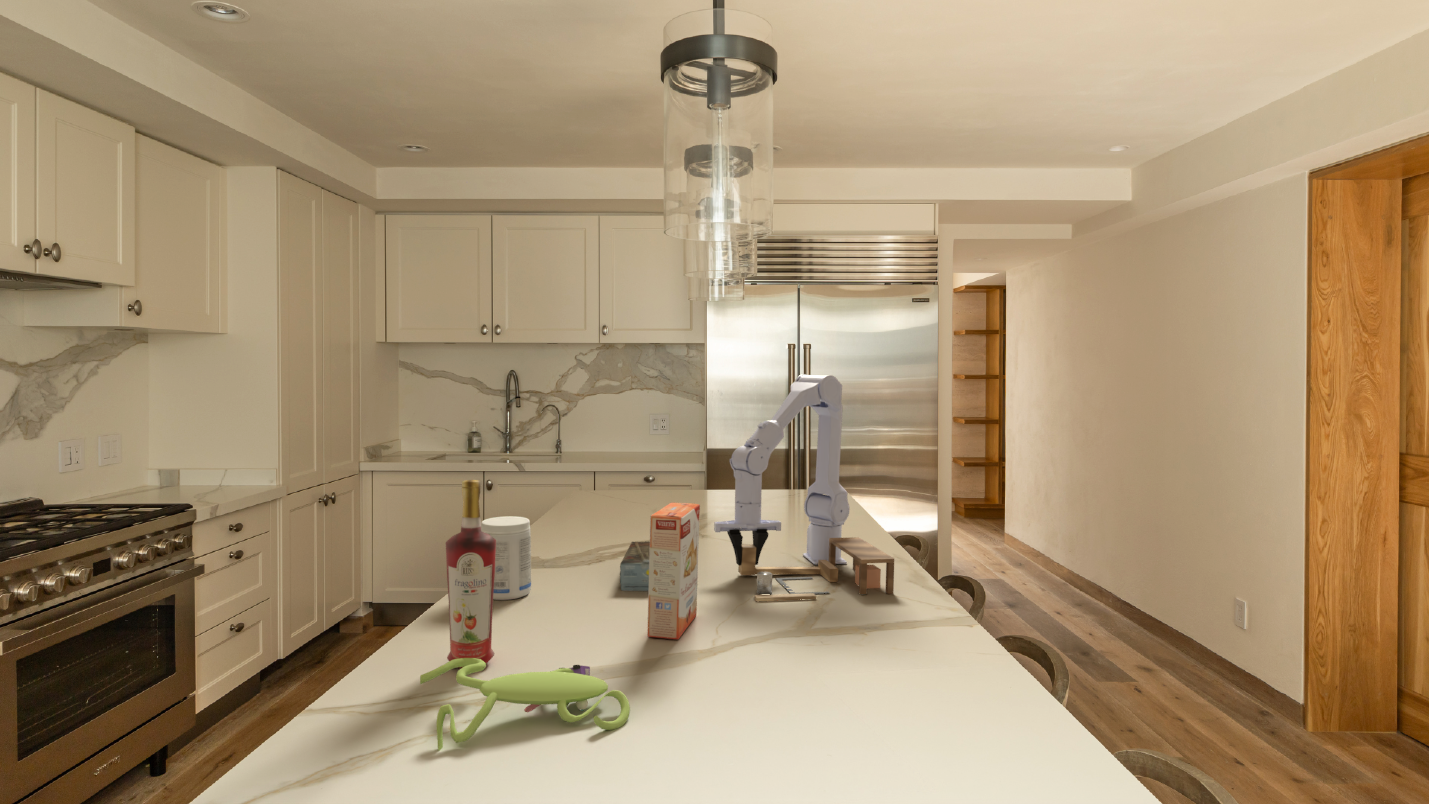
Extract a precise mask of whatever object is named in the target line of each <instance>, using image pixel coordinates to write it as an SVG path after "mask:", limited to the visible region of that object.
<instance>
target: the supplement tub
mask: <svg viewBox="0 0 1429 804" xmlns="http://www.w3.org/2000/svg"><path fill="white" fill-rule="evenodd" d="M530 524H531V522H530V519H529V518H527V517H525V516H515V515H513V516H509V515H507V516H497V517H496V516H495V517H489V518H486V519H484V520H481V531H482V532H484V533H487V534H489V535H491V536H492V537H493V538H494V539H496V555H495V577H494V592H493V601H494V600H495V601H496V600H497V601H500V600H501V601H507V600H509V601H510V600H517V599H520V598H522V597H526V596H527V595H529V593H530V592H531V591H532V549H531V548H532V541H531V540H532V536H531V532H532V531H531V525H530Z"/></svg>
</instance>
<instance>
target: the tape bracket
mask: <svg viewBox="0 0 1429 804" xmlns="http://www.w3.org/2000/svg"><path fill="white" fill-rule="evenodd" d="M797 579H798V580H800V579H801V580H814V579H813V577H812V576H806V577H805V576H803V577H802V576H800V577H797V576H796V577H776V578H775V580H776V581H777V582H778V583H779V584H780V585H781V586H782V585H784V587H783V588H784V589H785V588H791V587H790V586H789V585H788V584H787V583H786V582H785V581H793V580H794V581H796V580H797ZM786 585H788V586H786ZM786 591H787V592H788V591H794V590H793V589H792V588H791V589H787V590H786ZM806 593H814V594H815V595H828V594H827V593H830V592H829V591H810V592H809V591H808V592H805V591H804V592H795V591H794V592H790V593H789V594H806ZM824 593H825V594H824Z"/></svg>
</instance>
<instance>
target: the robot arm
mask: <svg viewBox="0 0 1429 804" xmlns="http://www.w3.org/2000/svg"><path fill="white" fill-rule="evenodd" d="M842 396H843V385H842V383H841V382H840V381H839V380H838V378H837V377H836V376H834V375H833V374H827V375H816V374H815V375H814V374H806V373H802V374H799V375H798V376H797V377H796V379H795V380H794V381H793V383H791V385H790V392H789V393H788V395H787V396H786V398H785V399H784V400H783V402H782V403H781V404H780V406H779V408H778V410H776V412H775V413H774V415H773V416H772V418H771V419H769V420H763V421H761V422H759V423H758V425H757V428H756V429H755V431H754V432H753V434H752V435H751V436H750V437H749V438H747V440H746V441H745V443H744V445H741V446H738V447H737V448H735V450H734V451H733V452H732V454H731V458H729V464H730V467H731V469H732V470H733V478H734V479H735V480H734V483H735V485H734V488H735V489H734V519H733V520H724V521H723V520H722V521H713V523H714V524H713V531H714V532H715V533H721V532H723V533H724V532H727V535H728V537H729V540H730V542H731V544H732V545H731V546H732V547H733V551H734V556H735V562H736V564H737V566H739V565H741V563H742V554H741V549H742V544H743V539H744V537H743V535H742V532H751V533H752V544H753V545H754V546H755V547H756V562H755V566H756V565H759V562H760V561H759V560H760V557H761V553H762V550H763V548H764V545H765V544H766V541H767V539H768V538H769V532H768V531H776V532H781V531H782V522H781V521H780V520H778V519H777V520H776V519H775V520H773V519H772V520H771V519H770V520H769V519H768V520H767V519H762V492H763V491H762V489H763V487H762V484H763V482H762V481H763V472H765V471H766V470H767V468H768V466H769V460H770V458H771V455H772V453H773V452H774V451H775V450H776V448H777V446H778V445H779V444H780V443H781V441H782V440H783V439H784V436H785V435H784V433H785V432H784V429H785V428H786V427H787V426H788V425H790V423H791V422H792V421H793V420H794V419H795V418H796V417H797V415H798V414H799V413H800V412H801V411H802V410H803V409H804V408H805V407H810V408H812V410H813V411H814V412H815V413H816V414H817V415H818V421H817V422H818V424H817V442H816V443H817V444H816V462H815V463H816V464H815V467H816V468H815V481H814V482H813V483H812V484H811V485H809V487H807V495H806V497H805V500H804V504H803V509H804V510H803V511H804V514H805V515H806V516H807V517H808V522H810V523H809V524H808V527H807V530H806V552H804V553H803V552H802V556H803V557H804V558H806V559H807V560H808V561H809V562H810V563H812V564H813V565H817V566H818V560H827V561H828V562H829V538H842V534H843V533H842V531H843V530H842V529H843V528H842V527H843V525H845V523H846V521H847V519H848V518H849V515H850V510H851V509H850V504H849V501H848V491H847V490H846V489H845V487H843V486H842V485H841V483H840V468H841V467H840V466H841V448H842V447H841V445H842V426H843V403H842V398H843V397H842ZM837 564H838V565H839V564H841V565H842V564H845V565H846V564H848V561H847V560H846V559H844V558H843V557H842V550H841V549H839V548H838V547H836V560H835V565H837Z"/></svg>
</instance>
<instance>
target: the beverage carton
mask: <svg viewBox="0 0 1429 804" xmlns="http://www.w3.org/2000/svg"><path fill="white" fill-rule="evenodd" d="M649 554H650V541H631V542H630V544H629V546H628V548H627V551H626V552H625V554H624V556H623V559H622V560H621V562H620V564H619V565H620V566H619V584H620V590H621V591H630V592H631V591H633V592H634V591H636V592H637V591H638V592H649Z"/></svg>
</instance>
